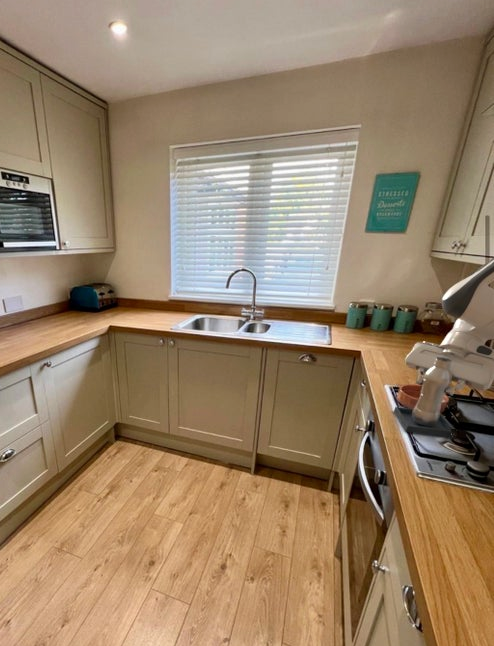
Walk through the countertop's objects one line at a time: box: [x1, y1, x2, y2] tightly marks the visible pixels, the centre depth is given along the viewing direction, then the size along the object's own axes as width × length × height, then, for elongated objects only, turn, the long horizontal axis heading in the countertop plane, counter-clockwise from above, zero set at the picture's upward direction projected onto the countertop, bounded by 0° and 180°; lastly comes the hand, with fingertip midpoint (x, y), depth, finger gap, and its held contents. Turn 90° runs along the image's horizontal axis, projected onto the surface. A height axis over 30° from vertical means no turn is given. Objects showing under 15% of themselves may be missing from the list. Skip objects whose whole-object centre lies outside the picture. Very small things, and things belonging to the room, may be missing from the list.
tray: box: [393, 406, 456, 439], centre depth 96 cm, size 12×11×2 cm
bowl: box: [396, 383, 450, 414], centre depth 107 cm, size 13×13×4 cm
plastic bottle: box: [412, 357, 453, 426], centre depth 93 cm, size 6×7×20 cm
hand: (433, 388), depth 92 cm, fingers closed on plastic bottle, 6 cm apart
